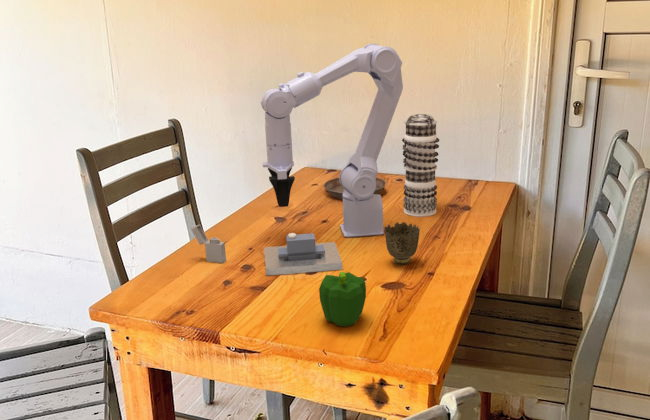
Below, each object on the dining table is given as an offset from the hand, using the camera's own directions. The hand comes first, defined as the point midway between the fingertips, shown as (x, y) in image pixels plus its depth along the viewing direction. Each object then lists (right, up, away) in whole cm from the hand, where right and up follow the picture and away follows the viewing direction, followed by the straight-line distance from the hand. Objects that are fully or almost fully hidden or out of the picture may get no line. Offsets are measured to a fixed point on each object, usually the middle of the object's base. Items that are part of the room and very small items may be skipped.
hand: (282, 201), depth 156 cm
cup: (+26, -14, -11) cm, 32 cm away
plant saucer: (+18, +2, +37) cm, 42 cm away
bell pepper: (+13, -22, -35) cm, 43 cm away
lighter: (-16, -13, -6) cm, 21 cm away
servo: (+5, -13, -9) cm, 16 cm away
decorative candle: (+35, -3, +20) cm, 40 cm away
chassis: (+5, -13, -9) cm, 17 cm away
